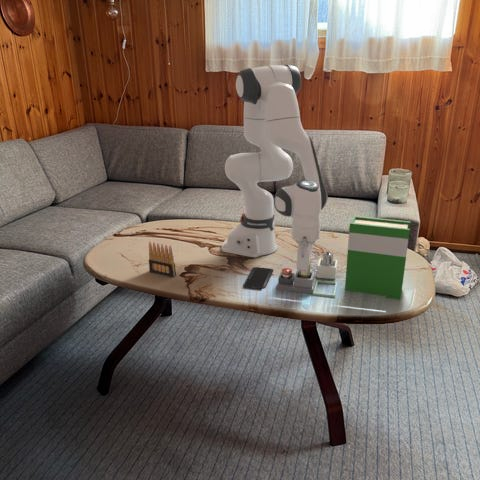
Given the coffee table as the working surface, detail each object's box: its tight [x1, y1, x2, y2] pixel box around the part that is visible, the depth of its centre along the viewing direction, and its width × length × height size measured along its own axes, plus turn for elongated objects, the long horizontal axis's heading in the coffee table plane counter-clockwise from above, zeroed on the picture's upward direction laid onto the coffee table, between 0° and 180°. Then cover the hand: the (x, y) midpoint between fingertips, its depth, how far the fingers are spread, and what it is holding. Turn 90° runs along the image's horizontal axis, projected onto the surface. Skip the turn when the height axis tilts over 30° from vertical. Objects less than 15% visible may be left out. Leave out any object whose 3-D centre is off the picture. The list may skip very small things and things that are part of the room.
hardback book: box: [344, 215, 412, 301], centre depth 148 cm, size 18×7×24 cm, turn 69°
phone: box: [242, 266, 274, 291], centre depth 162 cm, size 8×1×15 cm
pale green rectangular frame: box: [312, 279, 338, 298], centre depth 153 cm, size 7×9×1 cm
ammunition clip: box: [148, 241, 177, 278], centre depth 165 cm, size 11×2×12 cm, turn 63°
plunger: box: [281, 267, 293, 279], centre depth 155 cm, size 3×3×3 cm
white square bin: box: [316, 257, 338, 280], centre depth 162 cm, size 6×6×5 cm
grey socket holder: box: [276, 269, 317, 295], centre depth 155 cm, size 12×8×5 cm, turn 74°
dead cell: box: [322, 251, 334, 267], centre depth 161 cm, size 4×4×9 cm
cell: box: [299, 260, 311, 279], centre depth 153 cm, size 4×4×9 cm
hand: (304, 270), depth 152 cm, fingers closed on cell, 4 cm apart
